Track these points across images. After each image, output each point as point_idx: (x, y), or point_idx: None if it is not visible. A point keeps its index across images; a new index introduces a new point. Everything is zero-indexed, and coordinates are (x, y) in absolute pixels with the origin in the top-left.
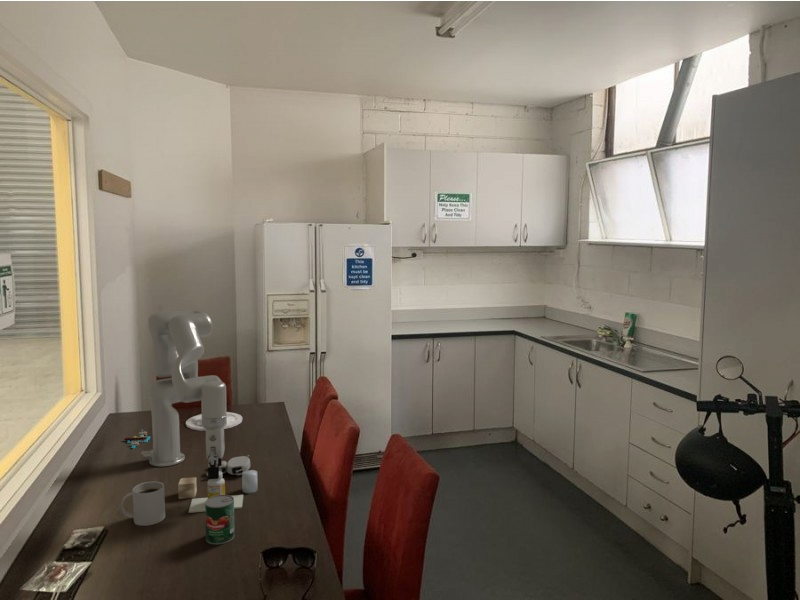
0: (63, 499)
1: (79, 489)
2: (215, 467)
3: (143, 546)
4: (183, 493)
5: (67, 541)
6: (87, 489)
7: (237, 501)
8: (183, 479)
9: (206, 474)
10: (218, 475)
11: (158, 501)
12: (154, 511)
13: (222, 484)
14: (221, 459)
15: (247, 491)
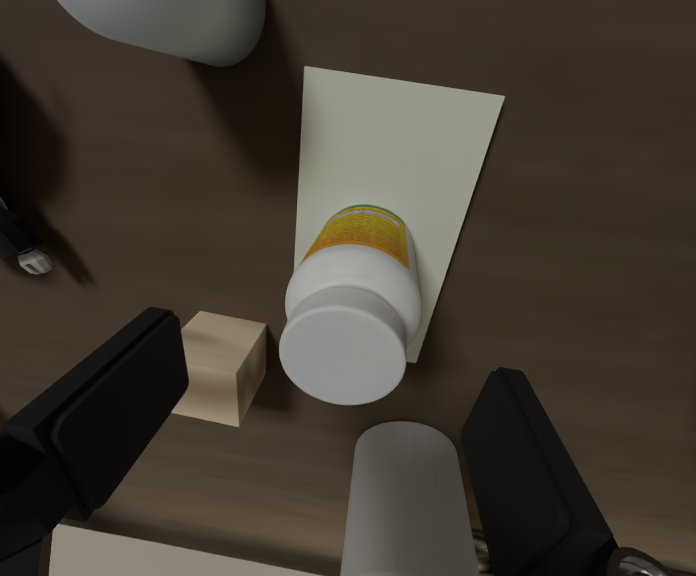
0: (218, 549)
1: (166, 529)
2: (632, 571)
3: (605, 482)
4: (257, 375)
5: None
6: (167, 521)
7: (402, 121)
8: (182, 405)
9: (41, 272)
10: (533, 396)
11: (465, 529)
12: (464, 496)
13: (404, 267)
14: (100, 351)
15: (258, 23)
